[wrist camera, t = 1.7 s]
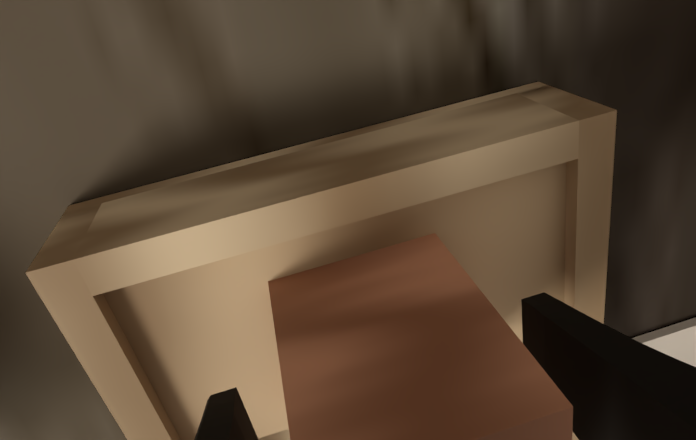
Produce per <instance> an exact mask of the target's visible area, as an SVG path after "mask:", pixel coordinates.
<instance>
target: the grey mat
mask: <svg viewBox="0 0 696 440" xmlns="http://www.w3.org/2000/svg"><path fill="white" fill-rule="evenodd" d="M632 339H634V340H636V341H638V342H640V343H642V344H644V345H647V346H649V347H651V348H653V349H655V350H658V351H660V352H662V353H664V354H666V355H669V356H671V357H673V358H675V359H678V360H680V361H682V362H685V363H687V364H690V365H692V366H694V367H696V317H695V318H692V319H689V320H686V321H683V322H680V323H677V324H674V325H671V326H668V327H665V328H662V329H659V330H655V331H652V332H649V333H646V334H643V335H640V336H637V337H634V338H632Z"/></svg>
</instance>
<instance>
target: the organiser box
mask: <svg viewBox="0 0 696 440" xmlns="http://www.w3.org/2000/svg"><path fill="white" fill-rule="evenodd" d="M616 118H617V110H615V109H613V108H610V107H607V106H604V105H602V104H599V103H596V102H593V101H591V100H588V99H585V98H582V97H580V96H577V95H574V94H571V93H569V92H566V91H563V90H560V89H558V88H555V87H552V86H549V85H547V84H544V83H541V82H535V83H531V84H527V85H523V86H519V87H516V88H512V89H508V90H504V91H500V92H497V93H493V94H489V95H485V96H482V97H478V98H474V99H470V100H466V101H463V102H459V103H455V104H451V105H448V106H444V107H440V108H436V109H432V110H429V111H425V112H421V113H417V114H413V115H410V116H406V117H402V118H398V119H395V120H391V121H387V122H383V123H379V124H376V125H372V126H368V127H364V128H360V129H357V130H353V131H349V132H345V133H342V134H338V135H334V136H330V137H326V138H323V139H319V140H315V141H311V142H307V143H304V144H300V145H296V146H292V147H289V148H285V149H281V150H277V151H273V152H270V153H266V154H262V155H258V156H254V157H251V158H247V159H243V160H239V161H236V162H232V163H228V164H224V165H220V166H217V167H213V168H209V169H205V170H201V171H198V172H194V173H190V174H186V175H183V176H179V177H175V178H171V179H167V180H164V181H160V182H156V183H152V184H148V185H145V186H141V187H137V188H133V189H130V190H126V191H122V192H118V193H114V194H111V195H107V196H103V197H99V198H95V199H92V200H88V201H84V202H80V203H77V204H73V205H69V206H68V208H67V209H66V211H65V212H64V214H63V215H62V217H61V218H60V220H59V222H58V223H57V225H56V226H55V228H54V229H53V231H52V232H51V234H50V235H49V237H48V239H47V240H46V242H45V243H44V245H43V246H42V248H41V249H40V251H39V252H38V254H37V256H36V257H35V259H34V260H33V262H32V263H31V265H30V266H29V268H28V270H27V271H26V275H27V276H28V278H29V280H30V281H31V283H32V285H33V286H34V288H35V289H36V291H37V293H38V294H39V296H40V298H41V299H42V301H43V302H44V304H45V306H46V307H47V309H48V311H49V312H50V314H51V316H52V317H53V319H54V320H55V322H56V324H57V325H58V327H59V329H60V330H61V332H62V334H63V335H64V337H65V338H66V340H67V342H68V343H69V345H70V347H71V348H72V350H73V351H74V353H75V355H76V356H77V358H78V360H79V361H80V363H81V365H82V366H83V368H84V369H85V371H86V373H87V374H88V376H89V378H90V379H91V381H92V382H93V384H94V386H95V387H96V389H97V391H98V392H99V394H100V396H101V397H102V399H103V400H104V402H105V404H106V405H107V407H108V409H109V410H110V412H111V414H112V415H113V417H114V418H115V420H116V422H117V423H118V425H119V427H120V428H121V430H122V431H123V433H124V435H125V436H126V438H127V440H194V439H195V436H196V433H197V430H198V428H199V425H200V422H201V419H202V416H203V413H204V410H205V406H206V403H207V400H208V399H209V397H210V395H213V394H216V393H219V392H222V391H226V390H229V389H232V388H235V387H236V388H237V390H238V392H239V395H240V397H241V399H242V402H243V404H244V407H245V409H246V411H247V414H248V416H249V418H250V421H251V423H252V425H253V428H254V430H255V432H256V435H257V437H258V439H259V440H290V434H289V427H288V420H287V413H286V406H285V399H284V392H283V385H282V378H281V371H280V364H279V357H278V350H277V342H276V335H275V328H274V321H273V314H272V307H271V300H270V293H269V286H268V281H272V280H275V279H278V278H282V277H285V276H289V275H292V274H296V273H299V272H303V271H306V270H309V269H313V268H316V267H320V266H323V265H327V264H330V263H333V262H337V261H340V260H344V259H347V258H351V257H354V256H358V255H361V254H364V253H368V252H371V251H375V250H378V249H382V248H385V247H389V246H392V245H395V244H399V243H402V242H406V241H409V240H413V239H416V238H420V237H423V236H426V235H430V234H433V233H435V234H436V235H437V236H438V237H439V239H440V240H441V241H442V242H443V244H444V245H445V246H446V247H447V249H448V250H449V251H450V252H451V254H452V255H453V256H454V258H455V259H456V260H457V261H458V263H459V264H460V265H461V266H462V268H463V269H464V270H465V271H466V273H467V274H468V275H469V276H470V278H471V279H472V280H473V281H474V283H475V284H476V285H477V286H478V288H479V289H480V290H481V291H482V293H483V294H484V295H485V296H486V298H487V299H488V300H489V301H490V303H491V304H492V305H493V307H494V308H495V309H496V310H497V312H498V313H499V314H500V315H501V317H502V318H503V319H504V320H505V322H506V323H507V324H508V325H509V327H510V328H511V329H512V330H513V332H514V333H515V334H516V335H517V337H518V338H519V339H520V340H521V342H522V343H523V333H522V305H521V299H524V298H527V297H530V296H533V295H537V294H540V293H543V292H545V293H547V294H548V295H550V296H552V297H554V298H556V299H558V300H560V301H562V302H563V303H565V304H567V305H569V306H571V307H573V308H575V309H576V310H578V311H580V312H582V313H584V314H586V315H587V316H589V317H591V318H593V319H595V320H597V321H599V322H601V323H603V324H604V309H605V293H606V277H607V261H608V245H609V229H610V213H611V197H612V182H613V166H614V150H615V134H616ZM572 440H579V439H578V438H577V437H576V435H575V434H574V433H573V431H572Z"/></svg>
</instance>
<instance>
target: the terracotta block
mask: <svg viewBox="0 0 696 440" xmlns="http://www.w3.org/2000/svg"><path fill="white" fill-rule="evenodd" d="M268 286H269V293H270V300H271V307H272V314H273V321H274V328H275V335H276V342H277V350H278V357H279V364H280V371H281V378H282V385H283V392H284V399H285V406H286V413H287V420H288V427H289V434H290V440H572V429H573V406H572V404H571V403H570V402H569V401H568V399H567V398H566V397H565V396H564V394H563V393H562V392H561V391H560V389H559V388H558V387H557V386H556V384H555V383H554V382H553V381H552V379H551V378H550V377H549V376H548V374H547V373H546V372H545V371H544V369H543V368H542V367H541V366H540V364H539V363H538V362H537V361H536V359H535V358H534V357H533V355H532V354H531V353H530V352H529V350H528V349H527V348H526V347H525V345H524V344H523V343H522V342H521V340H520V339H519V338H518V337H517V335H516V334H515V333H514V332H513V330H512V329H511V328H510V327H509V325H508V324H507V323H506V322H505V320H504V319H503V318H502V317H501V315H500V314H499V313H498V312H497V310H496V309H495V308H494V307H493V305H492V304H491V303H490V301H489V300H488V299H487V298H486V296H485V295H484V294H483V293H482V291H481V290H480V289H479V288H478V286H477V285H476V284H475V283H474V281H473V280H472V279H471V278H470V276H469V275H468V274H467V273H466V271H465V270H464V269H463V268H462V266H461V265H460V264H459V263H458V261H457V260H456V259H455V258H454V256H453V255H452V254H451V252H450V251H449V250H448V249H447V247H446V246H445V245H444V244H443V242H442V241H441V240H440V239H439V237H438V236H437V235H436V234H435V233H433V234H430V235H426V236H423V237H420V238H416V239H413V240H409V241H406V242H402V243H399V244H395V245H392V246H389V247H385V248H382V249H378V250H375V251H371V252H368V253H364V254H361V255H358V256H354V257H351V258H347V259H344V260H340V261H337V262H333V263H330V264H327V265H323V266H320V267H316V268H313V269H309V270H306V271H303V272H299V273H296V274H292V275H289V276H285V277H282V278H278V279H275V280H272V281H268Z"/></svg>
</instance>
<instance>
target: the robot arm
mask: <svg viewBox="0 0 696 440" xmlns="http://www.w3.org/2000/svg"><path fill="white" fill-rule="evenodd" d="M521 305H522V333H523V344H524V345H525V347H526V348H527V349H528V350H529V352H530V353H531V354H532V355H533V357H534V358H535V359H536V361H537V362H538V363H539V364H540V366H541V367H542V368H543V369H544V371H545V372H546V373H547V374H548V376H549V377H550V378H551V379H552V381H553V382H554V383H555V384H556V386H557V387H558V388H559V389H560V391H561V392H562V393H563V394H564V396H565V397H566V398H567V399H568V401H569V402H570V403H571V404H572V406H573V429H572V431H573V433H574V434H575V435H576V437H577V438H578V439H579V440H696V367H694V366H692V365H690V364H687V363H685V362H682V361H680V360H678V359H675V358H673V357H671V356H669V355H666V354H664V353H662V352H660V351H658V350H655V349H653V348H651V347H649V346H647V345H644V344H642V343H640V342H638V341H636V340H634V339H632V338H630V337H628V336H626V335H624V334H622V333H620V332H618V331H616V330H614V329H612V328H610V327H608V326H606V325H604V324H603V323H601V322H599V321H597V320H595V319H593V318H591V317H589V316H587V315H586V314H584V313H582V312H580V311H578V310H576V309H575V308H573V307H571V306H569V305H567V304H565V303H563V302H562V301H560V300H558V299H556V298H554V297H552V296H550V295H548V294H547V293H545V292H543V293H540V294H537V295H533V296H530V297H527V298H524V299H521ZM194 440H259V439H258V437H257V435H256V432H255V430H254V428H253V425H252V423H251V421H250V418H249V416H248V414H247V411H246V409H245V407H244V404H243V402H242V399H241V397H240V395H239V392H238V390H237V388H236V387H235V388H232V389H229V390H226V391H222V392H219V393H216V394H213V395H210V397H209V399H208V400H207V403H206V406H205V410H204V413H203V416H202V419H201V422H200V425H199V428H198V430H197V433H196V436H195V439H194Z"/></svg>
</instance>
